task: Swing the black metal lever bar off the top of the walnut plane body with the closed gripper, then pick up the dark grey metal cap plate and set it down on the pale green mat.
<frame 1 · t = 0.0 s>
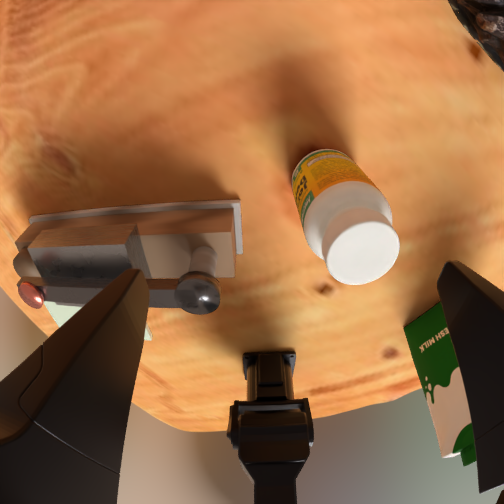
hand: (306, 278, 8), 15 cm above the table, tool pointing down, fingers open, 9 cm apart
lever: (100, 294, 18), point 8 cm above the table, hinge at 0.0°
pine cone: (496, 32, 12), on the table
plane body: (122, 230, 24), on the table
mat: (85, 300, 30), on the table
milk carton: (433, 321, 33), on the table
cap: (95, 258, 21), point 4 cm above the table, touching plane body
supplement bottle: (324, 178, 22), on the table
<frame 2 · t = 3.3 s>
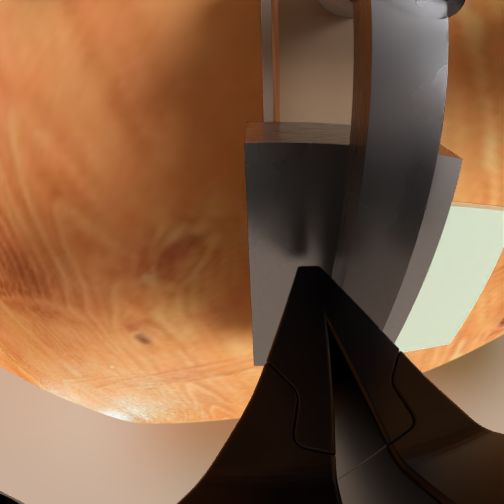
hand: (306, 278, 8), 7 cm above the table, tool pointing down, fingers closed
lever: (376, 260, 7), point 8 cm above the table, hinge at 0.3°, touching gripper
plane body: (314, 176, 14), on the table
mat: (424, 289, 18), on the table
cap: (330, 241, 11), point 4 cm above the table, touching plane body
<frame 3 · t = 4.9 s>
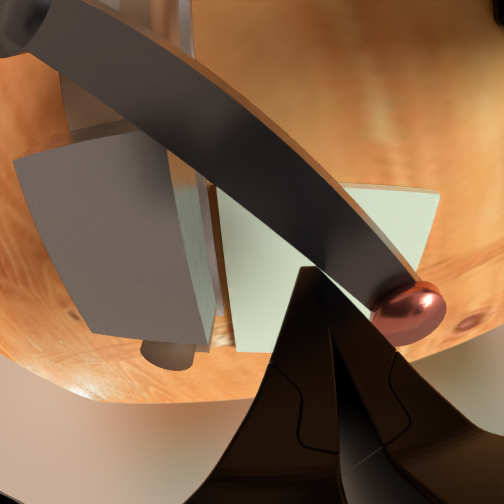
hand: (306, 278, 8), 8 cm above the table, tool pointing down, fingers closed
lever: (232, 146, 6), point 8 cm above the table, hinge at 46.5°, touching gripper
plane body: (159, 167, 14), on the table
mat: (323, 284, 18), on the table
cap: (134, 225, 12), point 4 cm above the table, touching plane body
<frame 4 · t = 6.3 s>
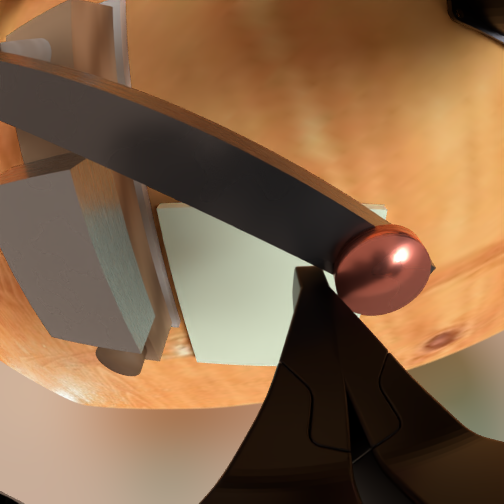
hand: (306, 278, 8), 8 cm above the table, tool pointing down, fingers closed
lever: (120, 131, 5), point 8 cm above the table, hinge at 60.2°, touching gripper
plane body: (109, 190, 15), on the table
mat: (271, 300, 19), on the table
cap: (79, 245, 12), point 4 cm above the table, touching plane body
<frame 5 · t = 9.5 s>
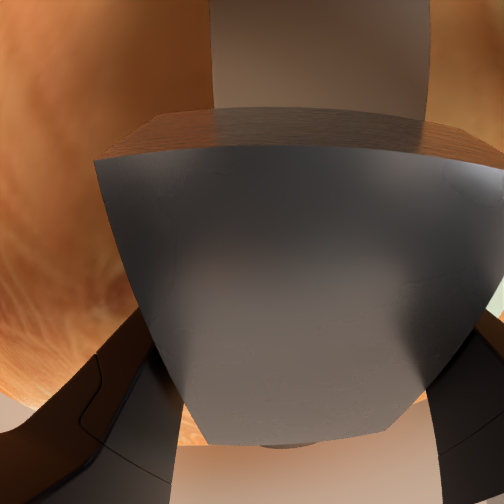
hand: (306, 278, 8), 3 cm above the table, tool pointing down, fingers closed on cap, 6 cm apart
plane body: (293, 190, 10), on the table
mat: (432, 322, 15), on the table
cap: (310, 296, 7), point 4 cm above the table, touching gripper, plane body
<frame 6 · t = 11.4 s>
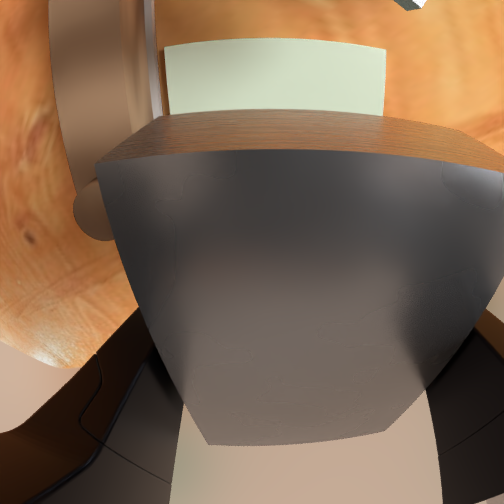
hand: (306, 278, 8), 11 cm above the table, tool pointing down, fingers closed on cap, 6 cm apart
plane body: (117, 42, 12), on the table
mat: (279, 155, 17), on the table
cap: (309, 297, 7), point 12 cm above the table, touching gripper
when the fingers open (1 cm above the table, at t = 13.6 s): cap drops 2 cm, resting on mat.
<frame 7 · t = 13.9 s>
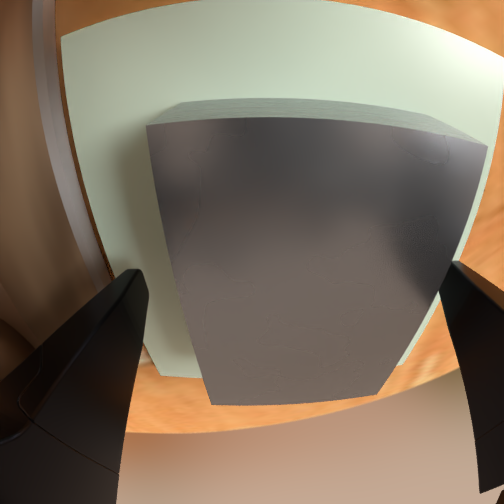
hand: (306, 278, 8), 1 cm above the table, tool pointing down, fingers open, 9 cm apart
plane body: (0, 44, 4), on the table
mat: (298, 246, 9), on the table
cap: (303, 258, 9), point 1 cm above the table, touching mat
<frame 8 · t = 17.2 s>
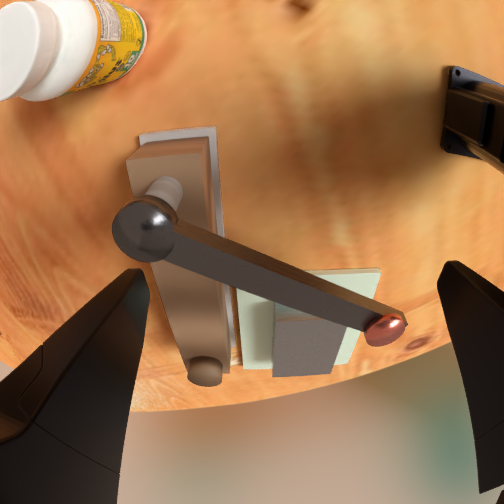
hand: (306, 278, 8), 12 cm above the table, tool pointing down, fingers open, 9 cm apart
lever: (285, 288, 14), point 8 cm above the table, hinge at 61.3°
plane body: (196, 262, 23), on the table
mat: (302, 325, 28), on the table
cap: (304, 330, 27), point 1 cm above the table, touching mat
supplement bottle: (110, 43, 13), on the table
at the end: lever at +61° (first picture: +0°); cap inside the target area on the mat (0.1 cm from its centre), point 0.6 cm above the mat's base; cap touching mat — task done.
